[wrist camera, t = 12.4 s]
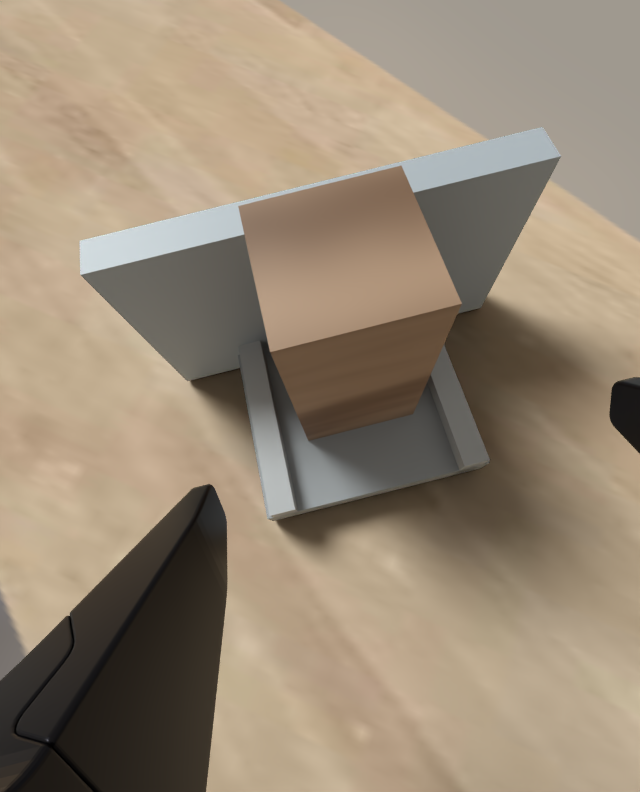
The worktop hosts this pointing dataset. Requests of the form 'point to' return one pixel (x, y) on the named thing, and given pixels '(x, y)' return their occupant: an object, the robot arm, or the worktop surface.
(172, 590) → the robot arm
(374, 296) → the walnut cabinet block
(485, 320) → the worktop surface
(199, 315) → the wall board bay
